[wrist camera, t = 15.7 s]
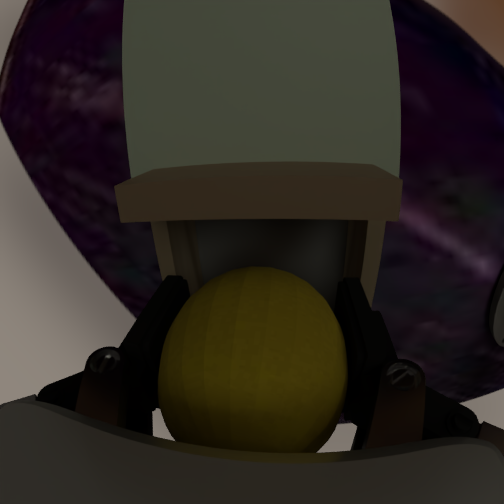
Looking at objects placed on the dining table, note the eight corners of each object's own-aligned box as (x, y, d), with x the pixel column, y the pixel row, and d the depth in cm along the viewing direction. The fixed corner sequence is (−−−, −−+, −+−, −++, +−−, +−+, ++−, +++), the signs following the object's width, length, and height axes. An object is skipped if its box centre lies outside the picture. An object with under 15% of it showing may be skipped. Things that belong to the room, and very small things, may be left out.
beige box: (354, 35, 10) (381, 4, 6) (344, 312, 17) (356, 364, 13) (176, 43, 11) (135, 20, 7) (203, 309, 18) (183, 358, 14)
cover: (377, -16, 5) (406, -56, 2) (388, 199, 9) (427, 234, 6) (135, 0, 6) (87, -26, 4) (145, 201, 10) (98, 233, 7)
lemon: (180, 245, 11) (68, 413, 4) (320, 217, 10) (381, 421, 3) (221, 346, 13) (181, 499, 6) (335, 331, 12) (358, 500, 5)
